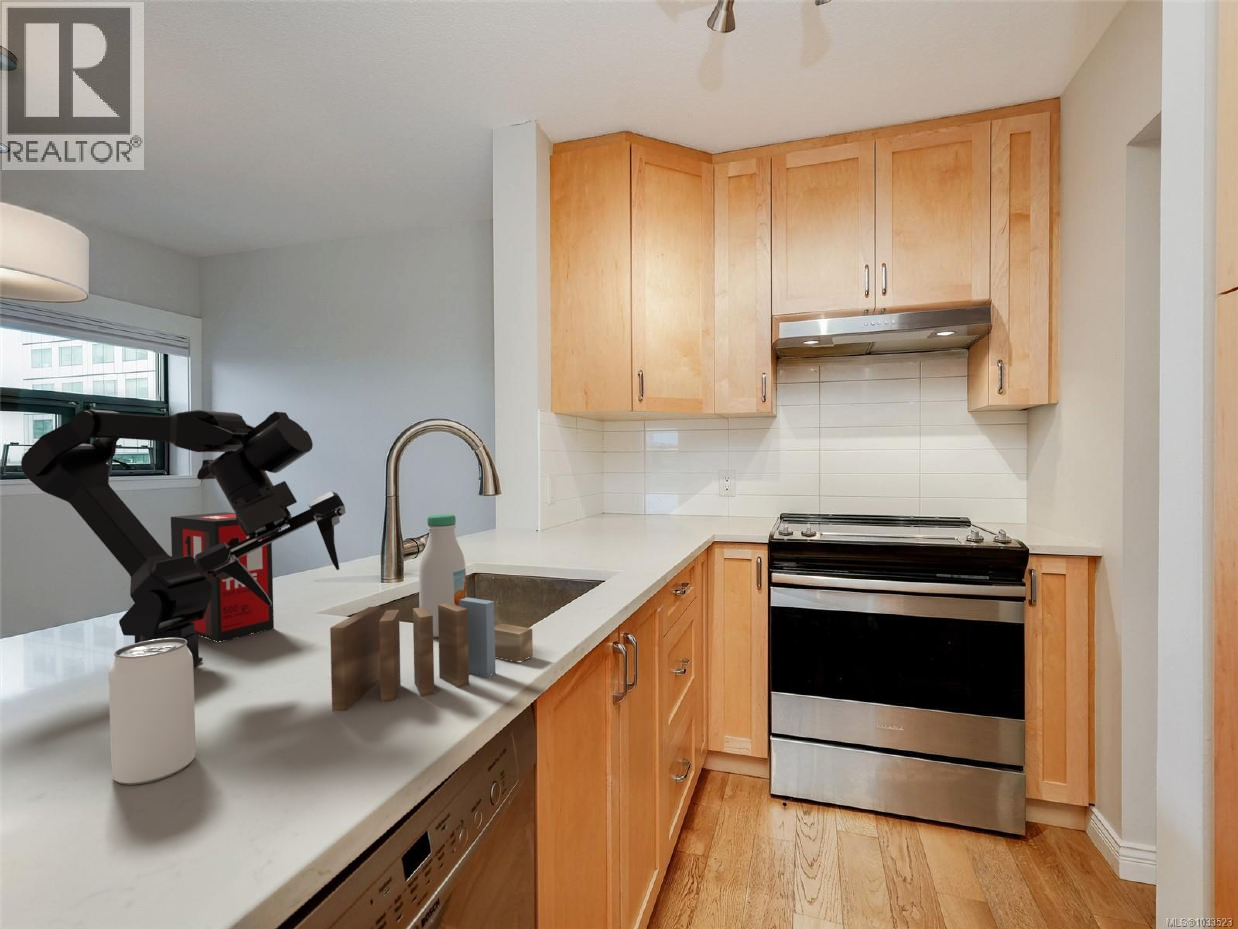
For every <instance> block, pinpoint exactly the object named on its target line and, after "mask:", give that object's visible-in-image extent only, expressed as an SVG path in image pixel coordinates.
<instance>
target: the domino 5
mask: <svg viewBox="0 0 1238 929" xmlns="http://www.w3.org/2000/svg"><path fill="white" fill-rule="evenodd" d="M459 606H460V607H463V608H466V609H468V658H469V674H473V675H476V676H480V675H481V677H486V678H489V677H491V676H492V675H491V674H493V675H495V674H496V658H495V626H496V624H495V601H493V600H489V599H488V600H486V599H479V598H475V597H474V598H473V597H468V596H466V598H464V599H461V600H459ZM494 673H495V674H494ZM490 675H491V676H490Z"/></svg>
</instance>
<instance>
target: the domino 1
mask: <svg viewBox="0 0 1238 929" xmlns="http://www.w3.org/2000/svg"><path fill="white" fill-rule="evenodd" d="M381 618H382V606H368V607H367V608H364V609H363V610H360V611H359V612H357V613H356V614H353V615H352V616H350V617H348V618H346V619H344V620H342V621H341V622H339V623H336V624H334V625H333V626H331V627H329V629H330V630H329V632H330V633H329V634H330V635H329V636H330V637H329V640H330V674H331V675H330V677H331V678H330V680H331V681H330V682H331V711H332V712H346V711H348V710H349V709H350V708H351V707H353V705H355V704H356V703H357V702H358V701H359V700H361V699H362V698H363V697H365V695H367V694H368V693H369V692H370V691H372V689H374V688H375V687H376V686H377V685H379V684H381V678H380V628H379V621H380V619H381Z"/></svg>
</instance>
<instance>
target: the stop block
mask: <svg viewBox="0 0 1238 929" xmlns="http://www.w3.org/2000/svg"><path fill="white" fill-rule="evenodd" d="M533 648H534V647H533V628H530V627H524V626H518V625H512V624H507V623H499V624H497V625H496V624H495V657H498V658H503V659H507V660H506V661H508V660H512V661H511V662H513V661H523V660H525V659H526V658H528V657H531V656H533V655H534V654H533V653H534V650H533ZM533 657H534V656H533ZM498 658H497V659H498ZM531 658H532V657H531ZM503 659H502V660H503ZM525 661H526V660H525ZM523 662H524V661H523Z"/></svg>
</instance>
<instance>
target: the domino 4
mask: <svg viewBox="0 0 1238 929" xmlns="http://www.w3.org/2000/svg"><path fill="white" fill-rule="evenodd" d="M438 629H439V637H438V670H439V673H438V674H439V675H438V676H439V679H440V680H442V681H445V682H446V683H448V684H450V685H451V686H454V687H455V688H457V689H459V688H462V687H465V686H469V685H470V680H469V679H470V673H469V658H468V609H466V608H463V607H460V606H457V605H454V604H452V603H444V604H439V605H438Z"/></svg>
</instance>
